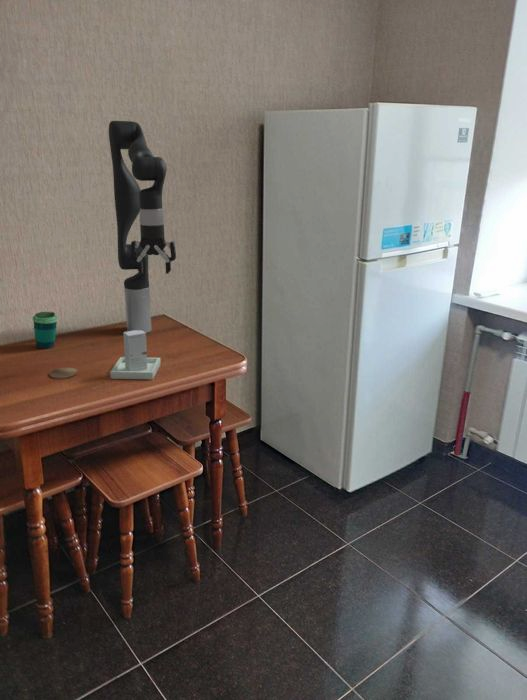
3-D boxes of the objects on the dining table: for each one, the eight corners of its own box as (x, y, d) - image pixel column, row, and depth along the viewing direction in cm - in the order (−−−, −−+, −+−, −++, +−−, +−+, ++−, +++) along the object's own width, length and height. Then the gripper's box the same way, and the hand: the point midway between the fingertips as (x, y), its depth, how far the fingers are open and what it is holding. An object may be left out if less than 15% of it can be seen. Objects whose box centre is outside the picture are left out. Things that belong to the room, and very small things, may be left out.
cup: (46, 341, 205) (42, 309, 201) (65, 344, 203) (61, 312, 199) (31, 348, 198) (26, 315, 194) (50, 351, 196) (46, 318, 192)
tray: (121, 363, 186) (120, 357, 186) (160, 363, 186) (160, 357, 186) (110, 378, 174) (110, 371, 173) (152, 379, 174) (152, 372, 173)
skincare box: (129, 372, 177) (127, 335, 173) (124, 368, 180) (122, 331, 176) (148, 369, 180) (146, 332, 176) (143, 364, 183) (140, 328, 179)
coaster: (55, 369, 181) (55, 367, 181) (80, 369, 181) (80, 367, 181) (46, 378, 173) (45, 376, 173) (72, 379, 173) (72, 377, 173)
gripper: (176, 221, 184) (177, 271, 190) (132, 221, 184) (135, 270, 190) (172, 224, 177) (174, 276, 183) (126, 224, 177) (130, 275, 183)
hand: (154, 273), depth 186 cm, fingers open, 8 cm apart
